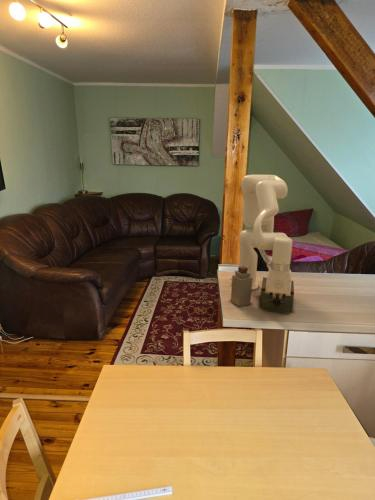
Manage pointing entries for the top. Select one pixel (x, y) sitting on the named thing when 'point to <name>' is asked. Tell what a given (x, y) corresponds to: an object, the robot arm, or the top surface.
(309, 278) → the top surface
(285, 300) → the drawer
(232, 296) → the perfume bottle
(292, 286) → the cabinet
